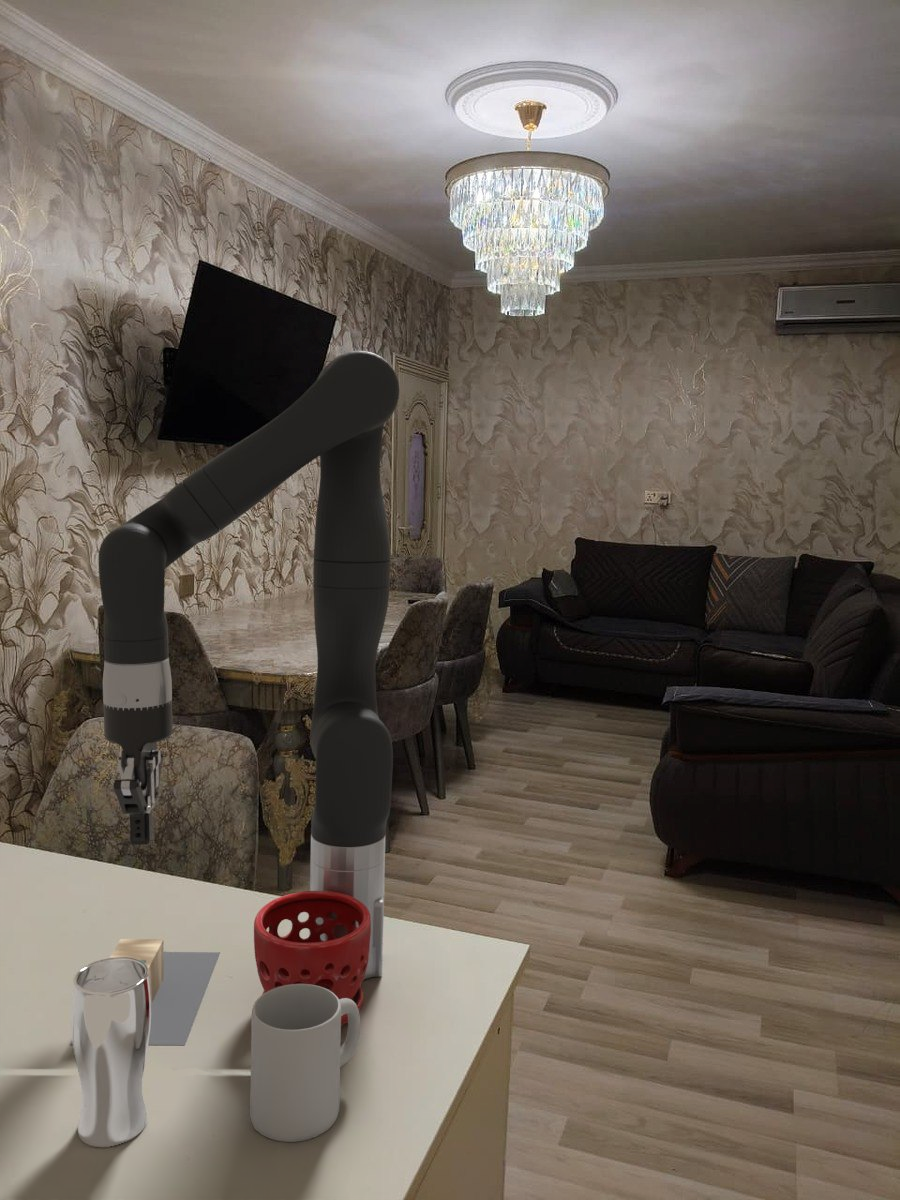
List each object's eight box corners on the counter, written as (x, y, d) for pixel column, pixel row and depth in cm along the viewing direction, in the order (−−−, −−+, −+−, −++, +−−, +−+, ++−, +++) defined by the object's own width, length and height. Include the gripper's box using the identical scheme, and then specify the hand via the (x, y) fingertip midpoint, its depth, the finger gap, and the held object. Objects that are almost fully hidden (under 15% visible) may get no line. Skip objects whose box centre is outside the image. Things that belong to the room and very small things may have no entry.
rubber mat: (220, 956, 121) (220, 952, 121) (184, 1049, 101) (184, 1045, 101) (124, 955, 120) (124, 951, 120) (69, 1049, 100) (69, 1044, 100)
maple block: (163, 938, 113) (135, 991, 101) (163, 978, 114) (135, 1036, 102) (120, 937, 113) (88, 991, 101) (121, 978, 114) (88, 1036, 102)
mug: (285, 1157, 86) (287, 1043, 84) (232, 1111, 91) (233, 1004, 90) (384, 1097, 94) (387, 994, 93) (329, 1060, 100) (331, 961, 99)
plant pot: (244, 993, 112) (245, 896, 111) (351, 976, 117) (354, 883, 116) (264, 1056, 100) (265, 949, 99) (383, 1034, 105) (386, 931, 104)
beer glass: (85, 1102, 92) (83, 956, 90) (158, 1100, 93) (158, 955, 91) (62, 1152, 85) (60, 995, 83) (142, 1150, 86) (141, 994, 84)
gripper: (156, 711, 103) (160, 864, 105) (183, 685, 116) (186, 821, 118) (86, 711, 102) (91, 865, 105) (121, 685, 116) (125, 822, 118)
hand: (141, 841), depth 111 cm, fingers closed
